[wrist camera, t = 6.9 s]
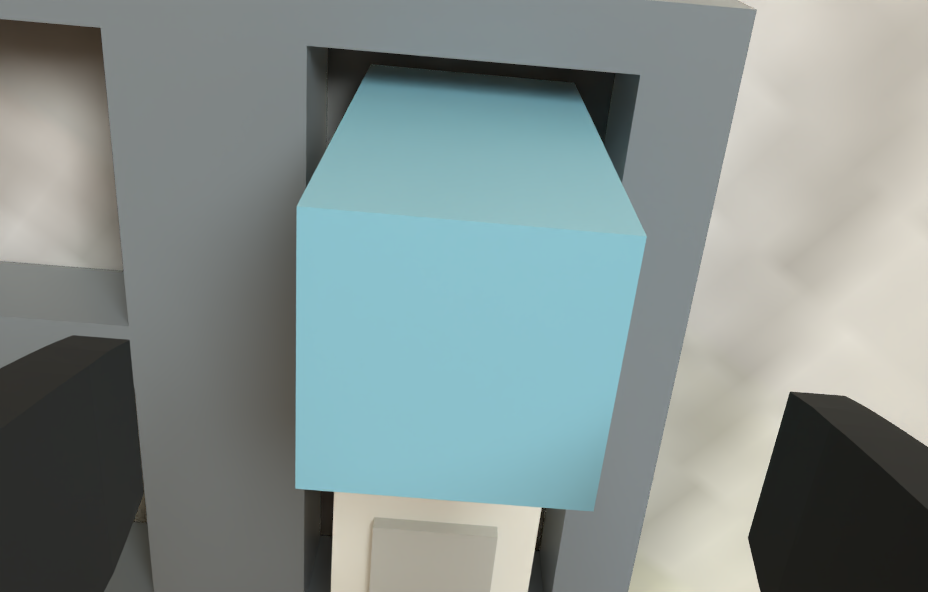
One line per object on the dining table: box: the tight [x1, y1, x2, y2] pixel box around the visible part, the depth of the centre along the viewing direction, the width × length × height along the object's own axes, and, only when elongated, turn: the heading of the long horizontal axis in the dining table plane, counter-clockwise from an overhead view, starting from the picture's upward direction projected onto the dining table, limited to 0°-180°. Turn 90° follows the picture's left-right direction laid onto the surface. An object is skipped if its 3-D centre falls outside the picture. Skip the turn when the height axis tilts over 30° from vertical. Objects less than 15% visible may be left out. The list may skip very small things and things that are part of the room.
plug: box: [295, 64, 647, 512], centre depth 15 cm, size 4×5×8 cm
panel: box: [0, 0, 757, 592], centre depth 18 cm, size 18×15×2 cm
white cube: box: [331, 492, 541, 592], centre depth 19 cm, size 4×4×4 cm
